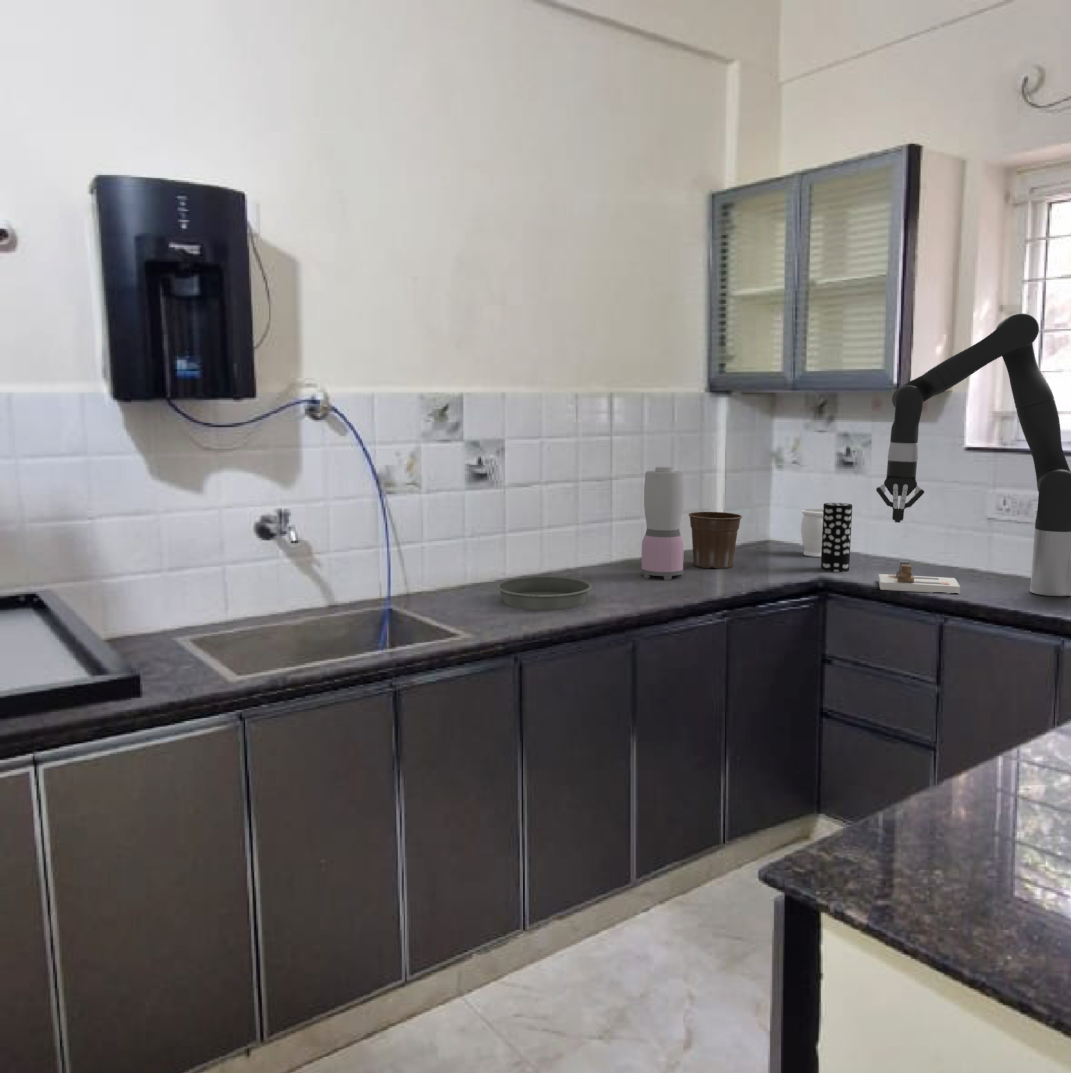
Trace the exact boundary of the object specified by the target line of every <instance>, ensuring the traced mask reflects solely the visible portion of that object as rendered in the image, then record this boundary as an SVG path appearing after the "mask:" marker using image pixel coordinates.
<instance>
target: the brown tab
mask: <svg viewBox="0 0 1071 1073" xmlns="http://www.w3.org/2000/svg"><path fill="white" fill-rule="evenodd" d="M911 572H912V564H909V565H904V564H901V575H898V576H897V580H898V581H900V582H914V577H913V576H914V575H913V574H912V575H911Z"/></svg>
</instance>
